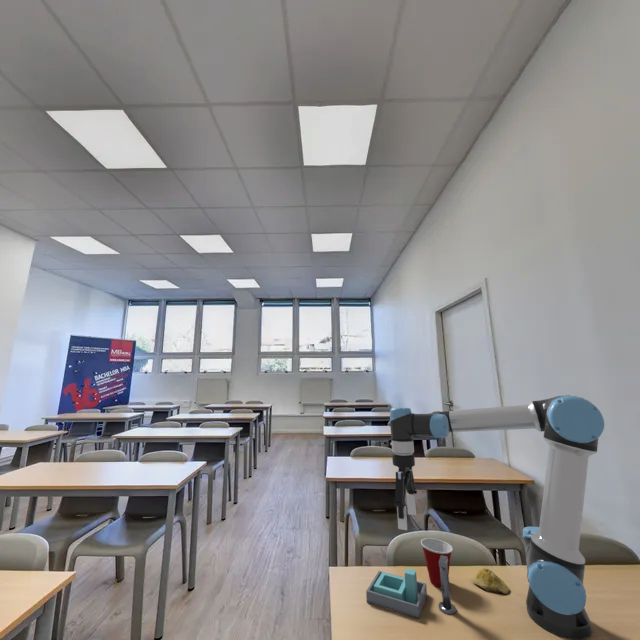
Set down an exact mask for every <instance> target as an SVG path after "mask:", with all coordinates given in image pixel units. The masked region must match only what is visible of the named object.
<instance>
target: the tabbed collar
mask: <svg viewBox="0 0 640 640" xmlns="http://www.w3.org/2000/svg"><path fill="white" fill-rule="evenodd" d="M384 572H385V571H382V573H381V575H380V576H379V578H378V580H377V581H376V583H375V585H374V592H376V593H380V594H383V595H386V596H389V597H393V598H396V599H399V600H403V601H406V602H409V603H413V604H417V601H418V591H417V581H418V578H417V570H415V569H412V568H406V569H405V571H404V576H400V577H399V575H397V576H395V575H396V574H393V575H391V574H392V573H389V574H388V572H385V573H384ZM403 577H404V578H403Z"/></svg>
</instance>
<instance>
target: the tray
mask: <svg viewBox="0 0 640 640" xmlns="http://www.w3.org/2000/svg"><path fill="white" fill-rule="evenodd" d="M382 572H384V573H386V572H385V571H383V570H382V571H381V570H378V572H377V573H376V575H375V576H374V578H373V580H372V581H371V583H370V585H369V586H368V587H367V589H366V590H365V591H366V592H365V593H366V603H369V604H372V605H374V606H377V607H381V608H384V609H388V610H390V611H393V612H397V613H399V614H403V615H405V616H409V617H412V618H414V619H418V620H420V617H421V614H422V611H423V608H424V605H425V601H426V599H427V594H428V591H427V583H426V582H422V581H419V580H417V591H418V601H417V604H413V603H409V602H406V601H403V600H399V599H396V598H393V597H389V596H386V595H383V594H380V593H376V592H374V585H375V583H376V581H377V580H378V578H379V576H380V575H381V573H382ZM387 573H388V572H387ZM388 574H391V575H395V576H399V575H396V574H392V573H388ZM399 577H401V576H399ZM402 577H403V578H405V576H402Z"/></svg>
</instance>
